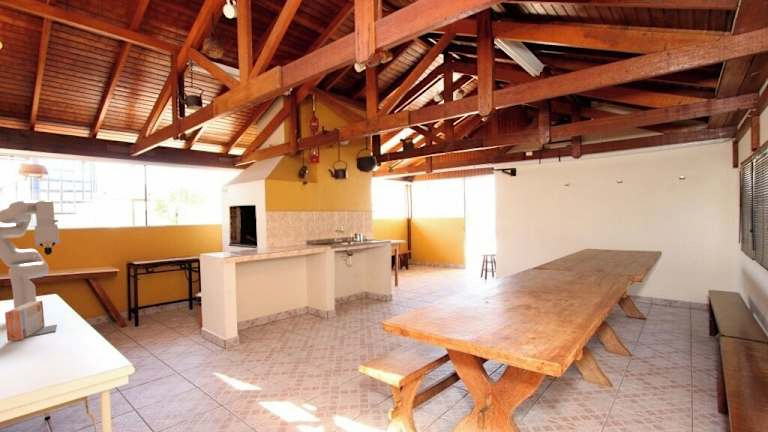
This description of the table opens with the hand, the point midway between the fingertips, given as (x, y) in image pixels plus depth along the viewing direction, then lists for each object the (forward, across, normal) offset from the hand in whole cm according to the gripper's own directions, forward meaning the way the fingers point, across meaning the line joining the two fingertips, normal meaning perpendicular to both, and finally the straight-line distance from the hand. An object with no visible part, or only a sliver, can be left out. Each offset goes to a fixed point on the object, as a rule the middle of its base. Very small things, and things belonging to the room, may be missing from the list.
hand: (48, 254), depth 208 cm
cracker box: (+30, +5, +16) cm, 34 cm away
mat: (+37, +4, +25) cm, 45 cm away
